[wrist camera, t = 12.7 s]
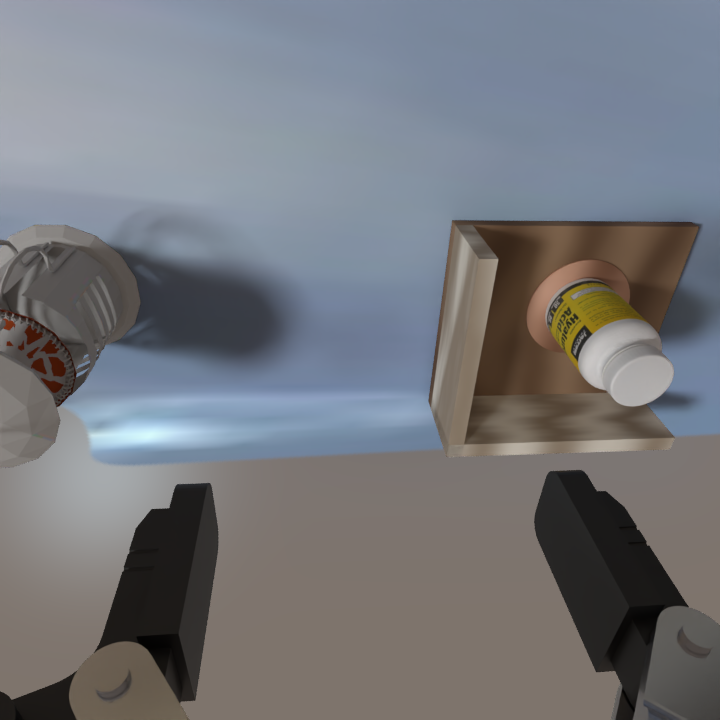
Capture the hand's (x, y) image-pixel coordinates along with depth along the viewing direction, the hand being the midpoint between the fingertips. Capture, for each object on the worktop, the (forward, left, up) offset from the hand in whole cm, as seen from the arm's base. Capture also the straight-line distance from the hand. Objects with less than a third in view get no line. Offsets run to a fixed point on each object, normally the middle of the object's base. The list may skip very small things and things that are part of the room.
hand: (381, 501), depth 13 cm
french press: (+18, -8, -28) cm, 34 cm away
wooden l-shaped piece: (-5, +20, -28) cm, 35 cm away
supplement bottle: (-7, +20, -27) cm, 34 cm away
